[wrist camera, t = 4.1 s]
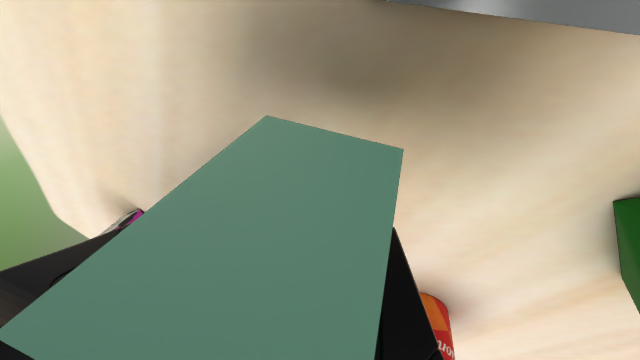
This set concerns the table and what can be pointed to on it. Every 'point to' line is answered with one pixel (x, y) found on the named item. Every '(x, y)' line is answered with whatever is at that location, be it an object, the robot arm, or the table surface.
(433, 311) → the paper cup
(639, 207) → the milk carton
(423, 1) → the board
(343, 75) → the table surface
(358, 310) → the block
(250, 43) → the table surface
